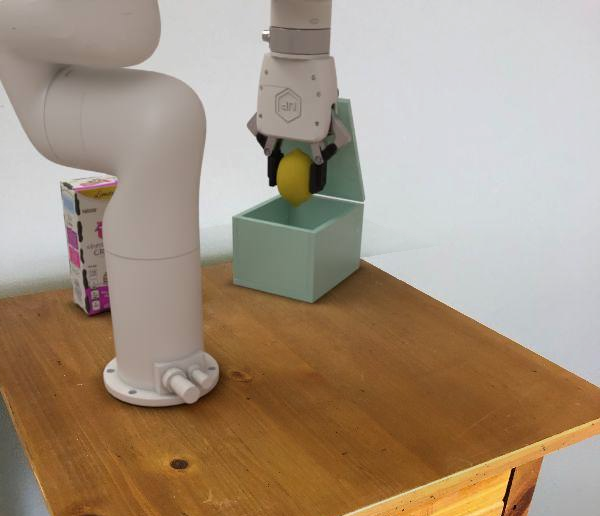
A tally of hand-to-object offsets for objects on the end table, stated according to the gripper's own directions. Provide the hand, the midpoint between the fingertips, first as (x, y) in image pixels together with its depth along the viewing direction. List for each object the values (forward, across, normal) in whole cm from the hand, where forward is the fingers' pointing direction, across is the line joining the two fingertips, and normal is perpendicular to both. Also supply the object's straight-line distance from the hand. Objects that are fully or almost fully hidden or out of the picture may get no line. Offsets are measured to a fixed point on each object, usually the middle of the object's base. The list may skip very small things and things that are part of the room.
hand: (296, 186), depth 103 cm
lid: (-4, 0, +5) cm, 6 cm away
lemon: (+3, 0, 0) cm, 3 cm away
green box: (+14, 0, +1) cm, 14 cm away
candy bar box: (+14, -16, -20) cm, 29 cm away
